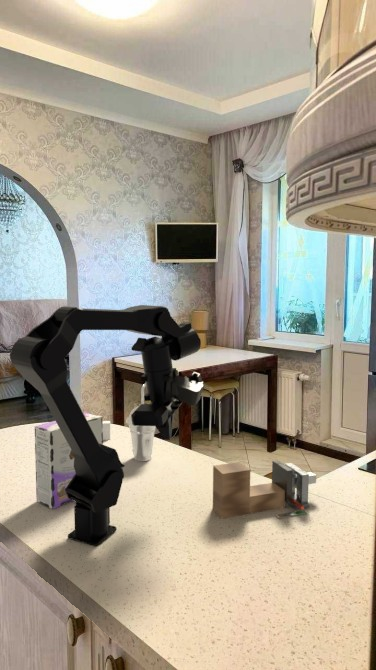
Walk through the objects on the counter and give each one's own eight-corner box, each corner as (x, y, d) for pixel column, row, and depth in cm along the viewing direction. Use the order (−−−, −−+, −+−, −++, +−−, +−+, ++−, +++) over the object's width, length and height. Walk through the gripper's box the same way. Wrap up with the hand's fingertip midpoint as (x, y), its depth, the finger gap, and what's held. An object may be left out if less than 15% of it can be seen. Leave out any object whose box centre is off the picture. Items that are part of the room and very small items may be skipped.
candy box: (87, 481, 115) (86, 411, 113) (104, 488, 111) (103, 415, 109) (35, 501, 104) (33, 424, 103) (52, 510, 101) (50, 430, 99)
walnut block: (221, 518, 98) (222, 473, 97) (212, 508, 102) (213, 465, 101) (284, 507, 103) (285, 464, 102) (273, 498, 107) (274, 457, 106)
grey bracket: (296, 510, 98) (297, 477, 98) (271, 491, 107) (272, 460, 107) (331, 504, 101) (333, 471, 101) (305, 485, 110) (306, 456, 109)
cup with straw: (119, 457, 130) (118, 381, 128) (147, 449, 136) (147, 377, 134) (139, 466, 124) (139, 387, 122) (167, 458, 130) (167, 382, 128)
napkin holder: (58, 441, 144) (57, 422, 143) (85, 431, 154) (84, 413, 153) (98, 451, 137) (98, 430, 136) (124, 439, 146) (124, 420, 146)
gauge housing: (278, 518, 98) (279, 485, 97) (253, 497, 107) (254, 466, 106) (315, 512, 101) (316, 479, 100) (288, 491, 110) (289, 461, 109)
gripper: (181, 383, 89) (192, 463, 93) (209, 352, 106) (216, 420, 110) (124, 384, 92) (136, 460, 96) (159, 353, 109) (168, 419, 113)
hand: (168, 439), depth 104 cm, fingers closed
